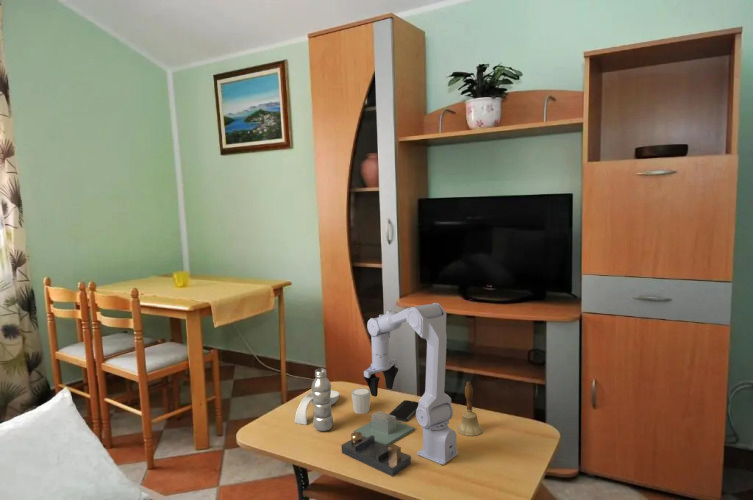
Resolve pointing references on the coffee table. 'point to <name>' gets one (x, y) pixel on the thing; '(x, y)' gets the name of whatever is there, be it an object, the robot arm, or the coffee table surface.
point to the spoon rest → (302, 408)
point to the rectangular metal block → (383, 422)
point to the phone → (405, 410)
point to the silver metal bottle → (322, 401)
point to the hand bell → (469, 416)
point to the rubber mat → (385, 438)
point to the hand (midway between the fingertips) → (381, 392)
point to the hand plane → (376, 454)
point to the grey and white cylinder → (361, 400)
